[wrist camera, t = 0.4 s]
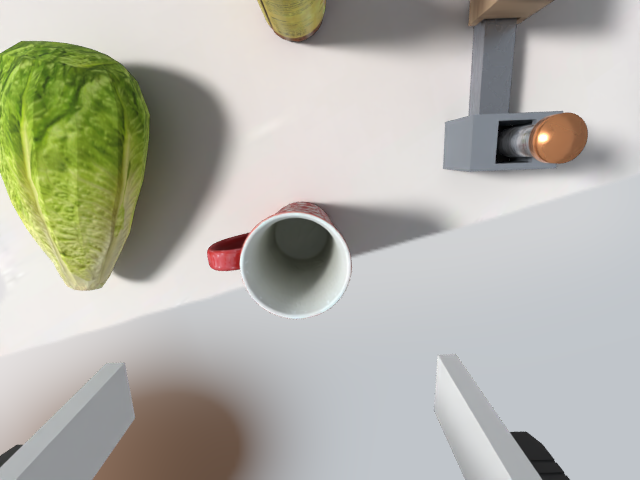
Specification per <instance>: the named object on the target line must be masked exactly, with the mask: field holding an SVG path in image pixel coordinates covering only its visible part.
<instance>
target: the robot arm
mask: <svg viewBox="0 0 640 480" xmlns="http://www.w3.org/2000/svg"><path fill="white" fill-rule="evenodd" d="M434 412H435V414H436V416H437V418H438V421H439V423H440V425H441V427H442V429H443V432H444V434H445V436H446V438H447V440H448V443H449V445H450V447H451V449H452V452H453V454H454V456H455V458H456V460H457V463H458V465H459V467H460V469H461V471H462V474H463V476H464V478H465V480H570V479H569V478H568V477H567V476H565V474H564V471H563V470H562V469H561V468H560V466H559V465H558V464H557V463H555V461H554V459H553V457H552V456H551V455H550V453H549V452H548V451H547V450H546V448H545V447H544V446H543V445H542V444H541V443H540V442H539V441H538V440H536V439H535V438H534V437H532V436H531V435H530V434H529V433H527V432H509V431H508V429H507V428H506V426H505V425H504V424H503V422H502V420H501V419H500V417H499V416H498V415H497V413H496V412H495V410H494V409H493V407H492V406H491V405H490V403H489V402H488V400H487V399H486V397H485V396H484V394H483V393H482V391H481V390H480V388H479V387H478V386H477V384H476V383H475V381H474V380H473V378H472V377H471V375H470V374H469V372H468V371H467V370H466V368H465V367H464V365H463V364H462V362H461V361H460V359H459V358H458V356H457V355H438V360H437V375H436V391H435V405H434ZM134 419H135V415H134V409H133V404H132V399H131V393H130V388H129V383H128V377H127V372H126V366H125V363H106V364H105V365H104V366H103V367H102V368H101V369H100V370H99V371H98V372H97V373H96V374H95V375H94V376H93V377H92V378H91V379H90V380H89V381H88V382H87V383H86V384H85V385H84V386H83V387H82V388H81V389H80V390H79V391H78V392H77V393H76V394H75V395H74V396H73V397H72V398H70V399H69V400H68V401H67V402H66V403H65V404H64V406H62V407H61V408H60V409H59V410H58V411H57V412H56V413H55V414H54V415H53V416H52V417H51V418H50V419H49V420H48V421H47V422H46V423H45V424H44V425H43V426H42V427H41V428H40V429H39V430H38V431H37V432H36V433H35V434H34V435H33V436H32V437H31V438H30V439H29V440H28V441H27V442H26V443H25V444H24V445H16V446H14V447H13V448H11V449H10V450H8V451H7V452H5V453H4V454H2V455H1V456H0V480H92V479H93V478H94V476H95V475H96V473H97V472H98V470H99V469H100V468H101V466H102V465H103V463H104V462H105V460H106V459H107V457H108V456H109V455H110V453H111V452H112V450H113V449H114V448H115V446H116V445H117V443H118V442H119V440H120V439H121V437H122V436H123V435H124V433H125V431H126V430H127V429H128V427H129V426H130V425H131V423H132V422H133V420H134Z"/></svg>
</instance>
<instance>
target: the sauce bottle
mask: <svg viewBox="0 0 640 480" xmlns="http://www.w3.org/2000/svg"><path fill="white" fill-rule="evenodd" d="M257 1H258V3H259V5H260V8H261V10H262V12H263V14H264V17H265V19H266V21H267V23H268V24H269V26H270V27H271V28H272V29H273V30H274V32H275V33H276V34H277V35H278V36H280V37H281V38H283V39H285V40H289V41H298V42H299V41H303V40H305V39H307V38H309V37H311V36H312V35H313V34H314V33H315V32H316V31H317V30H318V29H319V27H320V25H321V23H322V19H323V15H324V12H325V7H326V0H257Z"/></svg>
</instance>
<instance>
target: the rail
mask: <svg viewBox="0 0 640 480" xmlns="http://www.w3.org/2000/svg"><path fill="white" fill-rule="evenodd" d="M516 22H517V18H493V19H483V20H482V21H481V22H479V23H478V24H477V25H476V26H474V37H473V53H472V69H471V85H470V101H469V116H471V115H478V114H503V113H509V101H510V90H511V79H512V67H513V56H514V45H515V34H516Z"/></svg>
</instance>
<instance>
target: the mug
mask: <svg viewBox="0 0 640 480" xmlns="http://www.w3.org/2000/svg"><path fill="white" fill-rule="evenodd" d="M207 257H208V261H209V265H210V267H211V268H212V269H214V270H218V271H230V270H239V269H240V271H241V277H242V280H243V283H244V285H245V287H246V289H247V291H248V293H249V294H250V296H251V297H252V298H253V300H254V301H255V302H256V303H257V304H258V305H260V306H261V307H262V308H264V309H265V310H267V311H268V312H270V313H272V314H274V315H277V316H280V317H284V318H289V319H304V318H309V317H313V316H316V315H319V314H321V313H323V312H325V311H327V310H328V309H330V308H331V307H332V306H334V305H335V304H336V303H337V302H338V301H339V299H340V298H341V297H342V295H343V294H344V292H345V291H346V289H347V286H348V284H349V281H350V277H351V270H352V262H351V255H350V251H349V248H348V246H347V243H346V242H345V240H344V238H343V236H342V235H341V234H340V232H339V231H338V230H337V229H336V228H335V227H334V225H333V224H332V222H331V221H330V218H329V217H328V215H327V214H326V213H325V212H324V211H323V210H322V209H321V208H320V207H318V206H316V205H314V204H311V203H307V202H296V203H292V204H289V205H287V206H285V207H284V208H282V209H281V210H280V211H278V212H277V213H276V214H275V215H272V216H270V217H268V218H266V219H264V220H263V221H262V222H260V223H259V224H258V225H256V226H255V227H254V229H253V230H252V231H251V232H250V233H246V234H242V235H238V236H234V237H231V238H227V239H224V240H221V241H219V242H216V243H214V244H213V245H211V246H210V247H209V249H208V251H207Z"/></svg>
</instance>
